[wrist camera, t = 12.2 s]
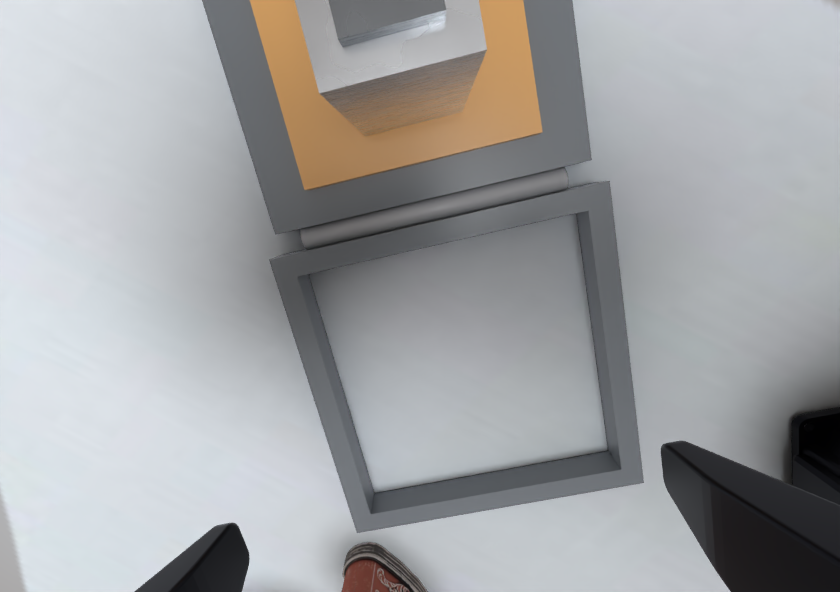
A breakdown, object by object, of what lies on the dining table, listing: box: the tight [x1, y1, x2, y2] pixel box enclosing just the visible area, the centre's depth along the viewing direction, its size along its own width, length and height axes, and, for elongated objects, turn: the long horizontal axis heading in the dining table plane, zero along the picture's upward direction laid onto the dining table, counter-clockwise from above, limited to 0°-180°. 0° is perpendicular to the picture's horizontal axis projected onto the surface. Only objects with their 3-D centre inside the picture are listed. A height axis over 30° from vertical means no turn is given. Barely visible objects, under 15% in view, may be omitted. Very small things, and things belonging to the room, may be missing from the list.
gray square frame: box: [269, 181, 644, 533], centre depth 20 cm, size 15×15×2 cm
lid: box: [202, 0, 592, 250], centre depth 16 cm, size 14×13×2 cm
